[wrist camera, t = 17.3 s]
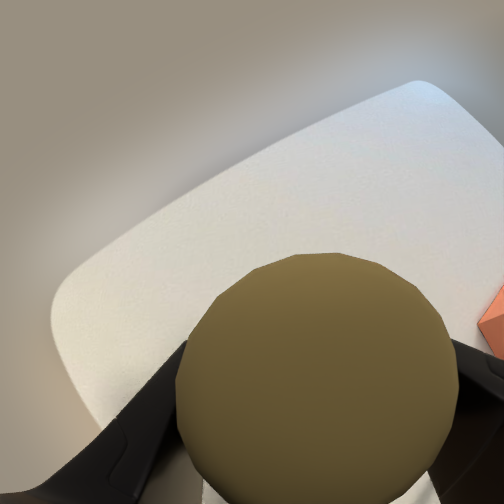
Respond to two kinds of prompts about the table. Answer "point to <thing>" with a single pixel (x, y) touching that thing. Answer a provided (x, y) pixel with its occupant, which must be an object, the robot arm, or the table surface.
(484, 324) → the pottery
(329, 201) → the table surface
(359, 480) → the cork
